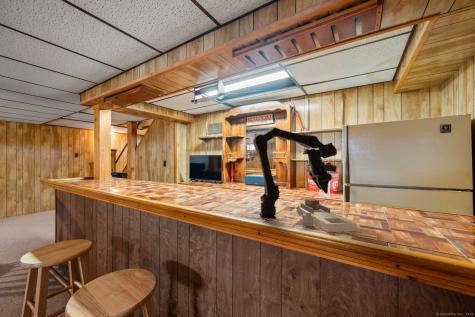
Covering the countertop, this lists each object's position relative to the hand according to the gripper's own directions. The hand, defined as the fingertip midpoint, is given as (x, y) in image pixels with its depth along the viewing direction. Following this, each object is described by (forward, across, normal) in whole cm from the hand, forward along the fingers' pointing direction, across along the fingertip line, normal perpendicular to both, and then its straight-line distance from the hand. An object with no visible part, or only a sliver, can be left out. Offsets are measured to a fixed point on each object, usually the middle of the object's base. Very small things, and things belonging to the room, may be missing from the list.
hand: (323, 191), depth 100 cm
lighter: (+8, -17, +15) cm, 24 cm away
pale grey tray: (+10, -9, +6) cm, 15 cm away
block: (+7, 0, +7) cm, 10 cm away
